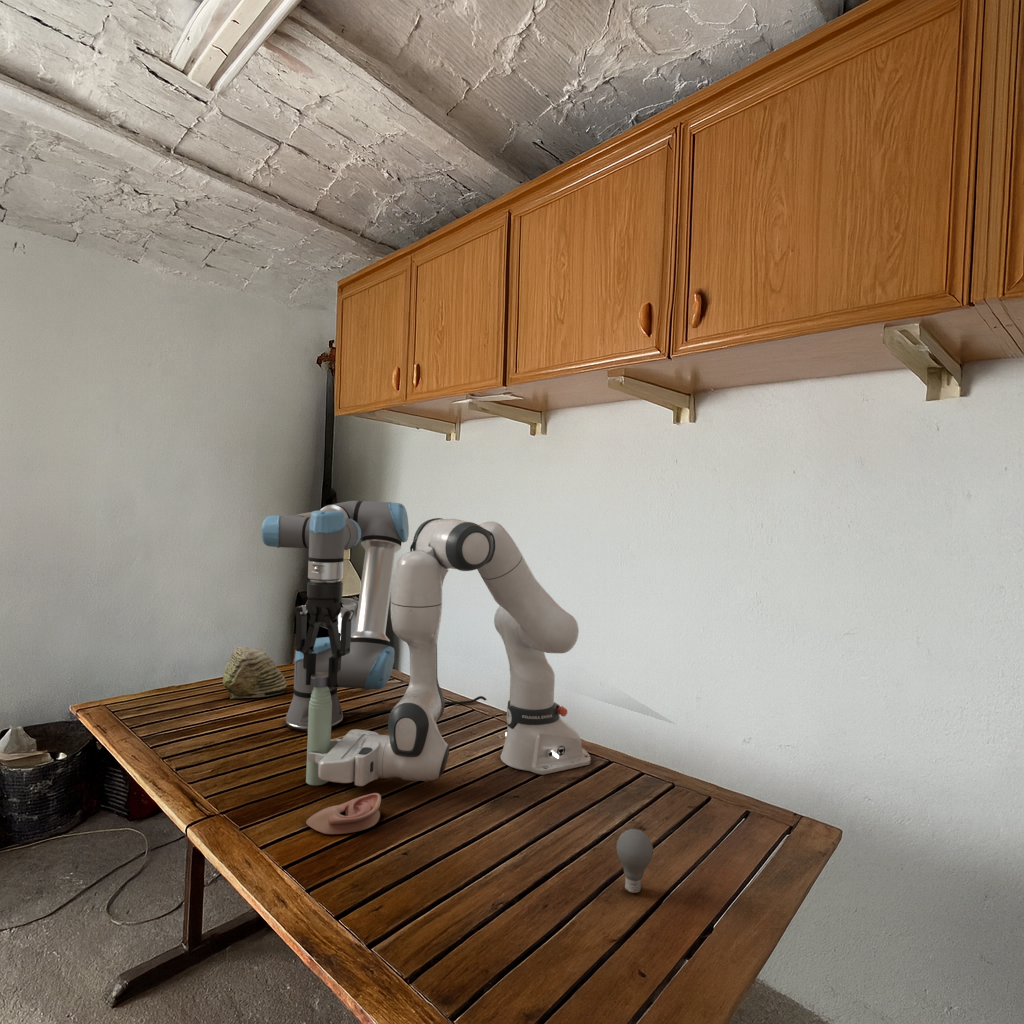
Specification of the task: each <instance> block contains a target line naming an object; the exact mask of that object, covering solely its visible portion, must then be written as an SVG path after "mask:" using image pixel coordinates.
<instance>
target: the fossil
mask: <svg viewBox="0 0 1024 1024" xmlns="http://www.w3.org/2000/svg"><path fill="white" fill-rule="evenodd" d="M222 676H223V677H222V685H223V687H224V688H225V690H226V691H228V693H229V698H230V699H250V698H264V697H271V696H275V695H281V694H284V693H285V691H286V689H287V687H288V686H287V680H286V678H285V676H284V674H283V673H282V672H281V669H279V668H278V667H277V665H276V663H275V662H274V660H273V659H272V658H271V657H270V656H269V655H268V654H267V653H266V652H265V650H264V649H263V648H260V647H258V648H251V647H247V646H246V647H245V646H238V647H237V648H236V649H235V650H233V651H232V653H231V656H230V657H229V659H228V660H227V663H226V666H225V668H224V671H223V675H222Z"/></svg>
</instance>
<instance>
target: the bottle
mask: <svg viewBox="0 0 1024 1024" xmlns="http://www.w3.org/2000/svg"><path fill="white" fill-rule="evenodd" d="M331 721H332V700H331V693H330V690H329V688H328V687H321V688H318V687H313V690H312V694H311V698H310V701H309V714H308V732H307V741H306V766H305V767H306V771H305V783H306V784H307V785H308V786H309V785H310V786H322V785H325V784H327V783H328V782H329V781H325V780H322V779H320V778H319V777H318V765H319V764H317V763H316V762H309V761H308V754H309V753H310V752H311V751H318V753H320V754H324V753H325V754H327V753H328V752H329V751H330V750H331V749H330V747H331V740H332V729H331Z"/></svg>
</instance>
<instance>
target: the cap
mask: <svg viewBox="0 0 1024 1024" xmlns="http://www.w3.org/2000/svg"><path fill="white" fill-rule="evenodd" d="M310 684H311V686H312V687H318V688H321V687H328V672H317V673H313V674H311V680H310Z"/></svg>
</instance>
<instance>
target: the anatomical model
mask: <svg viewBox="0 0 1024 1024" xmlns="http://www.w3.org/2000/svg"><path fill="white" fill-rule="evenodd" d="M381 803H382V796H381V794H380V793H379V792H373V793H368V794H364V795H362V796H358V797H356V798H353V799H351V800H348V801H346V802H343V803H340V804H338V805H332V806H328V807H325V808H323V809H321V810H319V811H317V812H315V813H313V814H312V815H311V816H310V817H308V818H307V819H306V821H305V824H306V825H307V826H308V827H309V828H311V829H312V830H314V831H316V832H319V833H321V834H323V835H343V834H351V833H356V832H362V831H365V830H367V829H369V828H370V829H371V828H372V827H374V826H375V825H376V824H377V823H379V821H380V818H381V812H380V810H379V809H380V807H381Z"/></svg>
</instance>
